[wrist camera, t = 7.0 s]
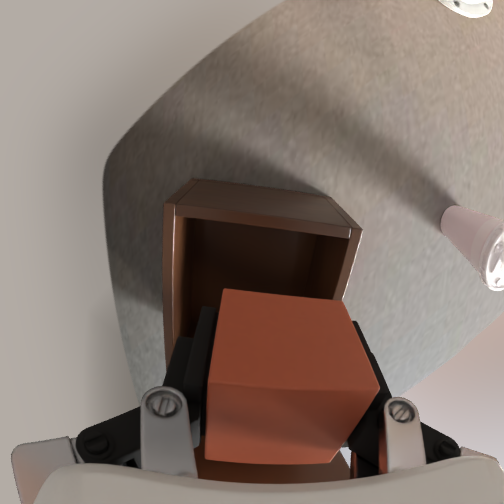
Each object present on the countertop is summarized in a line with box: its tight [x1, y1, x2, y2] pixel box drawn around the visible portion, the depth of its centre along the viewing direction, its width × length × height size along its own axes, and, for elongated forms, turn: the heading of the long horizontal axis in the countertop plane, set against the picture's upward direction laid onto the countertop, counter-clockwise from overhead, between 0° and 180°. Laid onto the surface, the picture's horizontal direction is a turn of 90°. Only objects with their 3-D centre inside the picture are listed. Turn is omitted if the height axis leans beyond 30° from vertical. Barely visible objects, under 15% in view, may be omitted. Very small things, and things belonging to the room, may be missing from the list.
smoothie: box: [440, 205, 504, 291], centre depth 20 cm, size 6×6×14 cm
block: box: [205, 288, 380, 464], centre depth 10 cm, size 4×4×4 cm
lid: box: [162, 385, 350, 484], centre depth 15 cm, size 16×13×5 cm
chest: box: [162, 178, 363, 373], centre depth 25 cm, size 16×13×9 cm
